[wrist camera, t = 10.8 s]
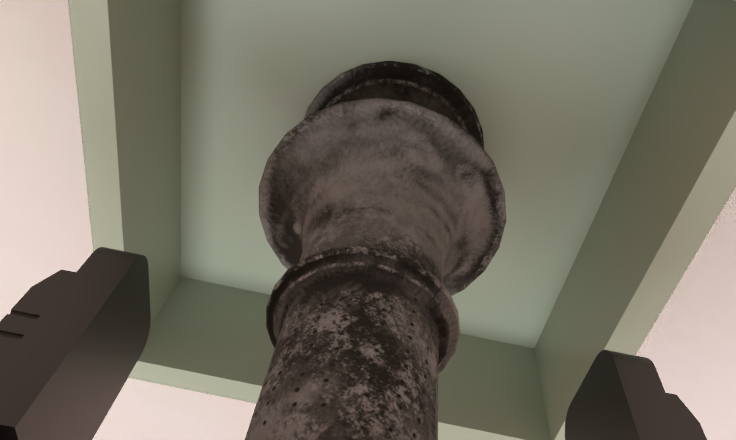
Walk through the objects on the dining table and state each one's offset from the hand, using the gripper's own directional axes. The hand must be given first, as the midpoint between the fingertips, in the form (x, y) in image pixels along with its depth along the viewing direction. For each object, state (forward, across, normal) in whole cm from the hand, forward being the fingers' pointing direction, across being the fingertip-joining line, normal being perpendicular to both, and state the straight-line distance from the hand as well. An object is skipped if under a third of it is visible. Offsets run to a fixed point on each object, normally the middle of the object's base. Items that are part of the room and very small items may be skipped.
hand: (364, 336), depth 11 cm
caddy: (+8, 0, 0) cm, 8 cm away
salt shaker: (+8, 0, 0) cm, 8 cm away
